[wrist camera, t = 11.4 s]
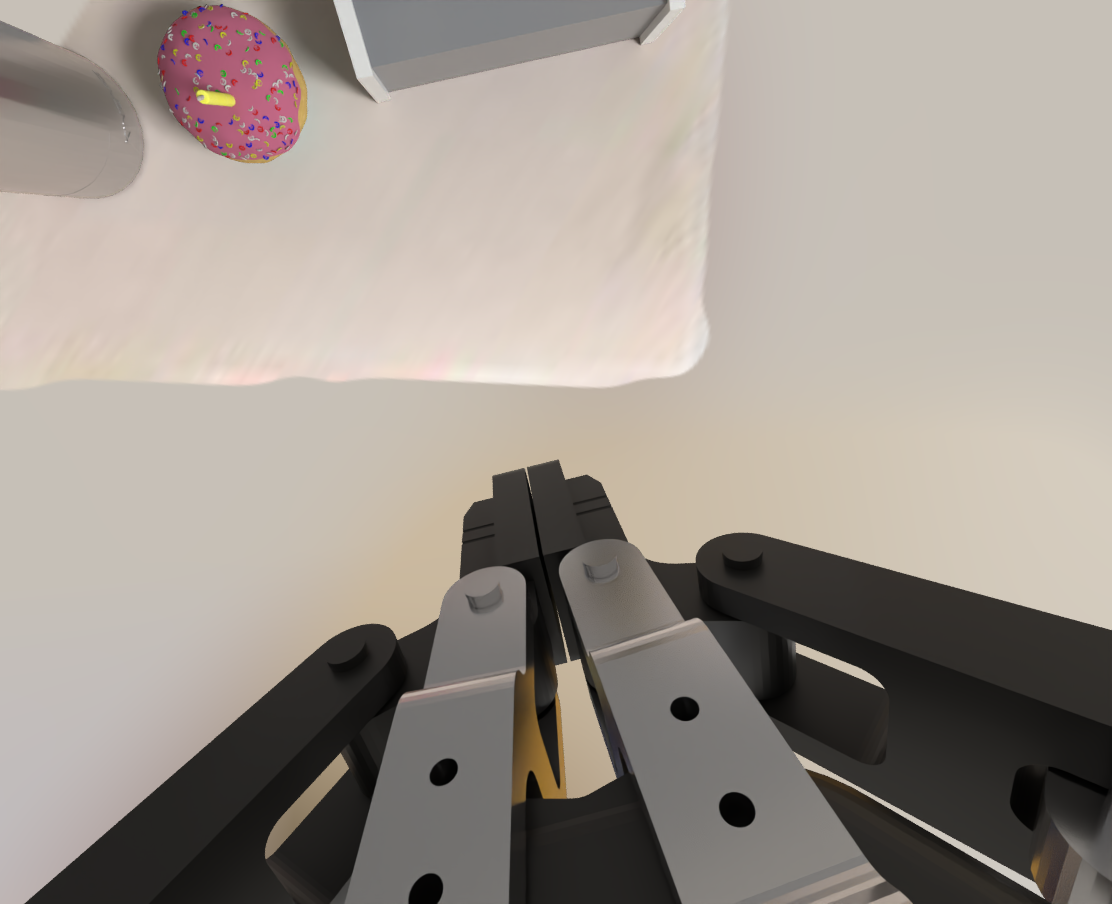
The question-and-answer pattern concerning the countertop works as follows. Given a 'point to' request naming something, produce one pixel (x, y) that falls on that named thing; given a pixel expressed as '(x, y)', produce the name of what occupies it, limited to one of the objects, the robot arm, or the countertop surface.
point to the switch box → (483, 34)
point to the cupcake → (232, 84)
